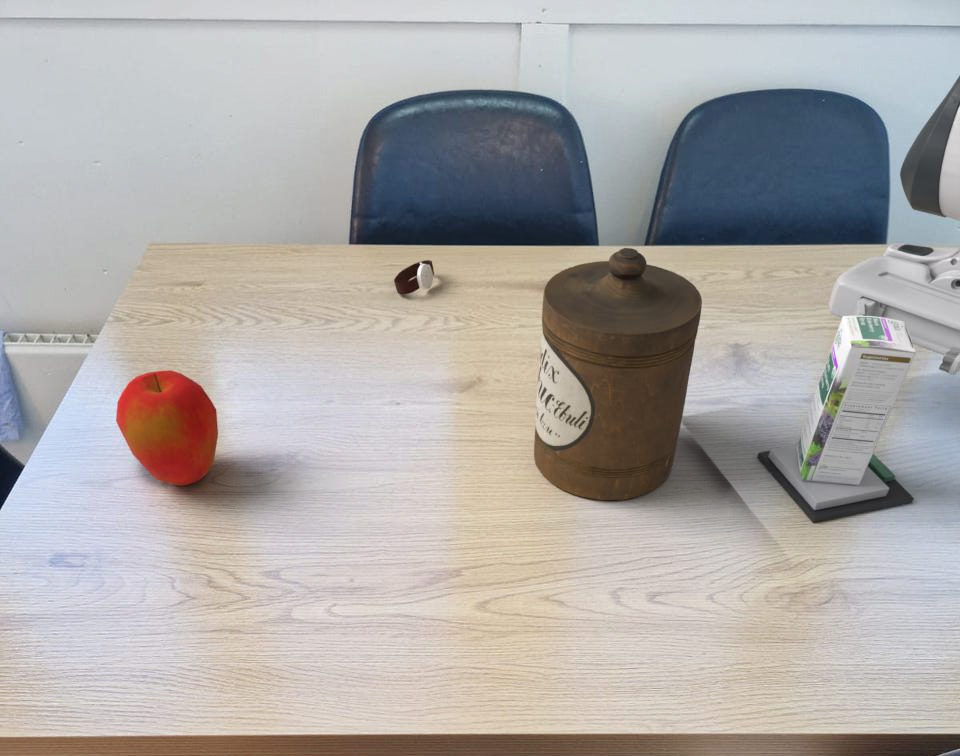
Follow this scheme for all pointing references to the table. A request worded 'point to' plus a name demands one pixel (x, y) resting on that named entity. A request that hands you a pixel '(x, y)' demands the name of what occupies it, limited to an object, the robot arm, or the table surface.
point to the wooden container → (613, 375)
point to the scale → (835, 488)
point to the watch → (421, 280)
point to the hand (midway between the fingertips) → (900, 347)
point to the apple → (169, 426)
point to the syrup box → (854, 398)
